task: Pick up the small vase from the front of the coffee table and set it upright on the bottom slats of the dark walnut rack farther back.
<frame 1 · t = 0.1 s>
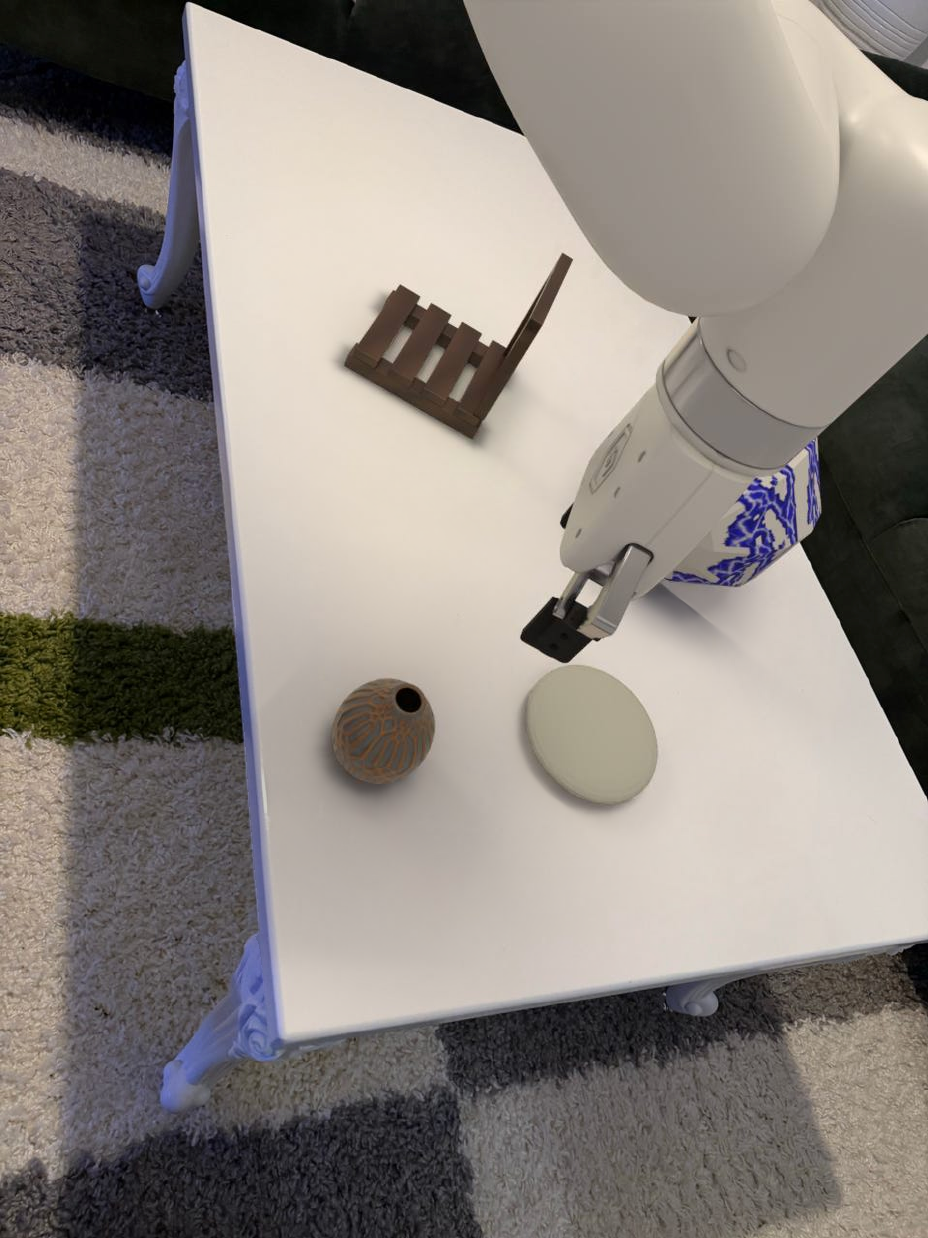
hand: (562, 588, 53), 19 cm above the table, tool pointing down, fingers open, 9 cm apart
ornament: (655, 539, 89), on the table
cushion: (582, 740, 73), on the table
vase: (366, 751, 64), on the table
rack: (429, 367, 88), on the table
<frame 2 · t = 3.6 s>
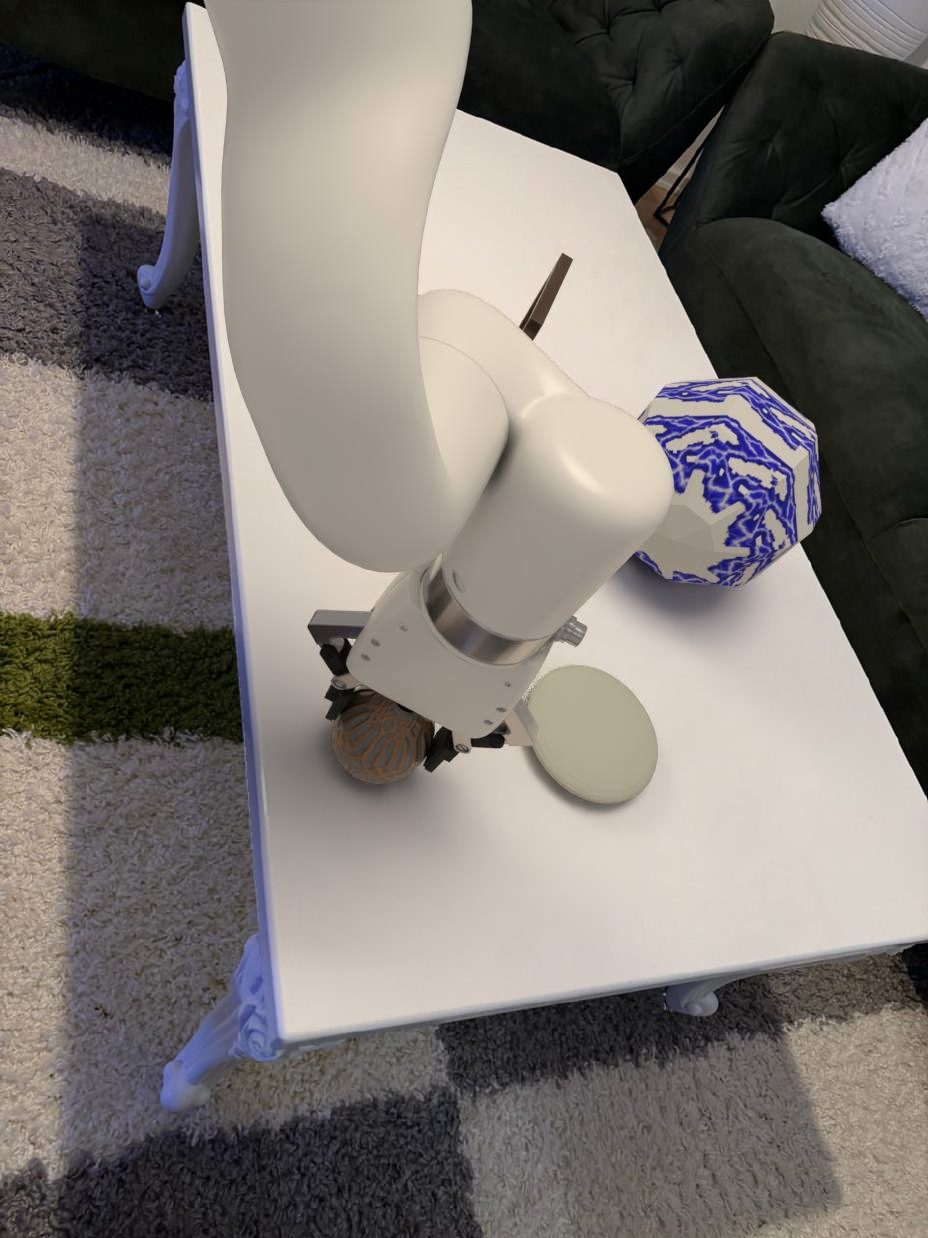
hand: (386, 727, 61), 4 cm above the table, tool pointing down, fingers closed on vase, 6 cm apart
vase: (366, 751, 64), on the table, touching gripper
everything else where it was.
when the fingers open (7 cm above the table, at t = 12.8 s): vase stays where it is, resting on rack.
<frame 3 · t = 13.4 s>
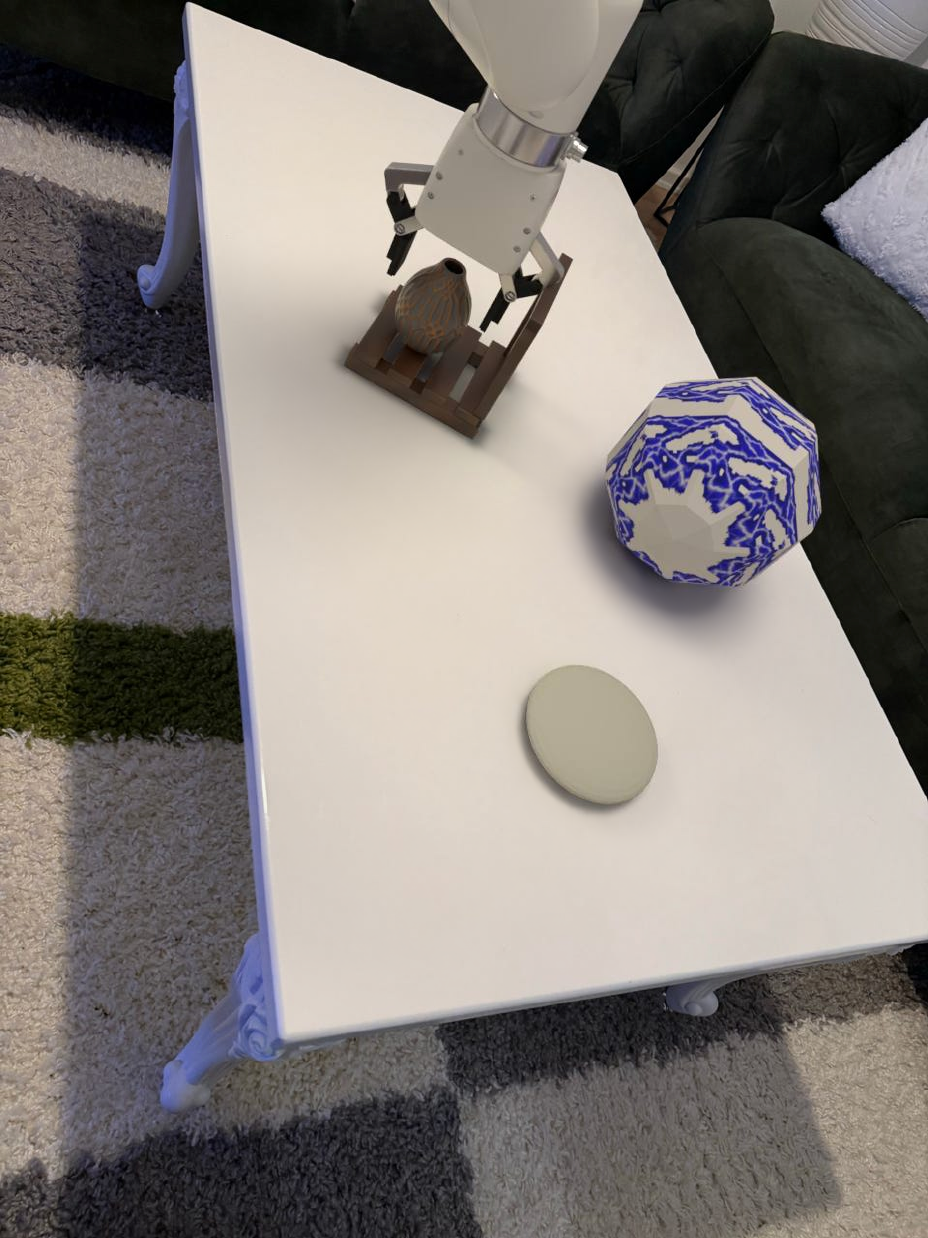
hand: (440, 295, 82), 8 cm above the table, tool pointing down, fingers open, 9 cm apart
vase: (418, 340, 86), point 2 cm above the table, touching rack
everything else where it was.
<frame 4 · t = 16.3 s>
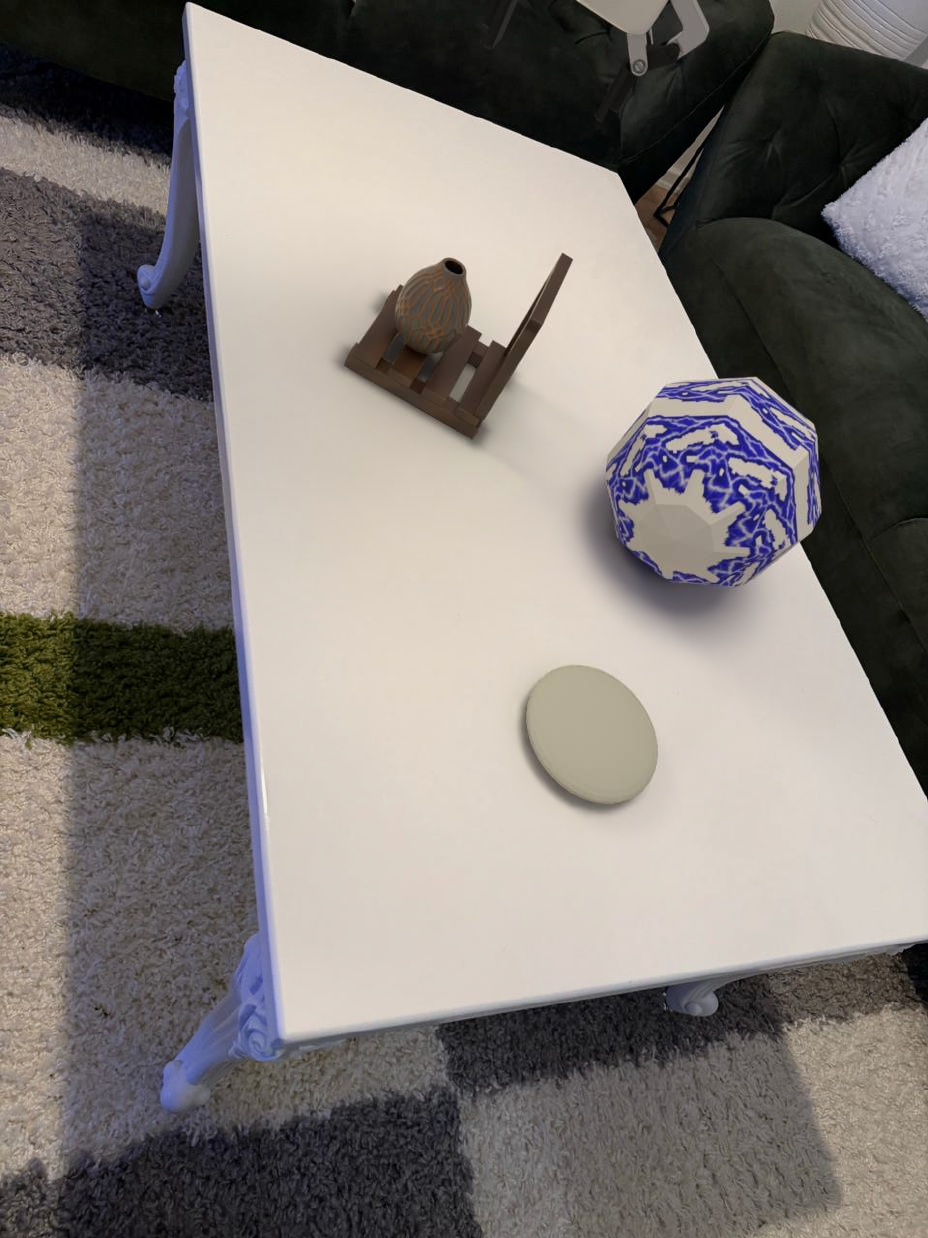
hand: (546, 78, 67), 28 cm above the table, tool pointing down, fingers open, 9 cm apart
nothing on the table moved.
at the end: vase inside the target area on the rack (2.1 cm from its centre), point 2.3 cm above the rack's base; vase tilted 0°; the gripper is holding nothing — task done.
